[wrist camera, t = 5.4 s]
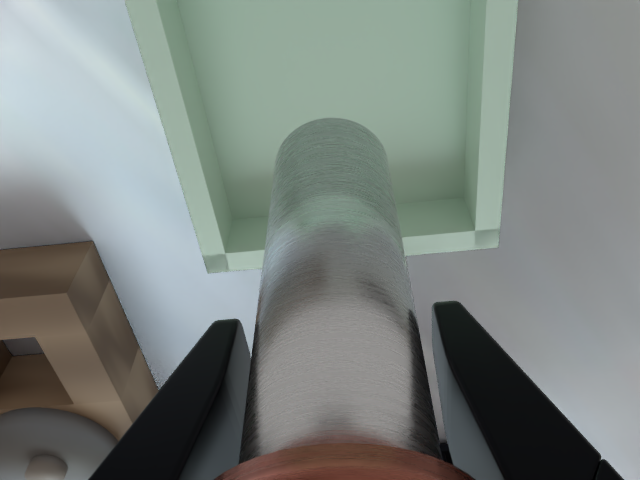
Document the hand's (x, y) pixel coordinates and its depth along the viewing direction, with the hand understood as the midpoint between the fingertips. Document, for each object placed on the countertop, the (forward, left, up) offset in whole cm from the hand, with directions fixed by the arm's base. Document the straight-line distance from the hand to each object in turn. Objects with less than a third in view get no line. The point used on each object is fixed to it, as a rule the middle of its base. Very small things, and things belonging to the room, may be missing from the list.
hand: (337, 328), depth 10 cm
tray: (0, 0, -12) cm, 12 cm away
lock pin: (0, 0, -5) cm, 5 cm away
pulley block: (-12, +14, -12) cm, 22 cm away
